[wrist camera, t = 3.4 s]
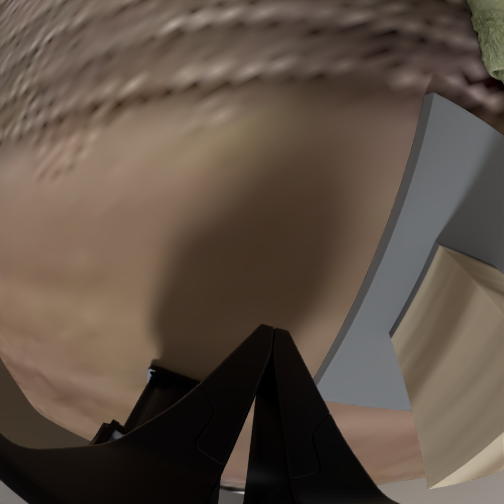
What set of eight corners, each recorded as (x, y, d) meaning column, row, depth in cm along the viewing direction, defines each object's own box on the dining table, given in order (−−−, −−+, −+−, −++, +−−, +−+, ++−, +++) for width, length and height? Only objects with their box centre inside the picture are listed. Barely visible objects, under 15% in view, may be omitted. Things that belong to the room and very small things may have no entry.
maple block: (388, 332, 15) (427, 489, 6) (435, 240, 12) (549, 380, 3) (448, 344, 15) (498, 471, 6) (493, 265, 12) (590, 378, 3)
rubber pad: (309, 385, 19) (309, 397, 18) (424, 95, 11) (434, 92, 10) (495, 402, 18) (498, 409, 17) (593, 229, 10) (601, 234, 9)
